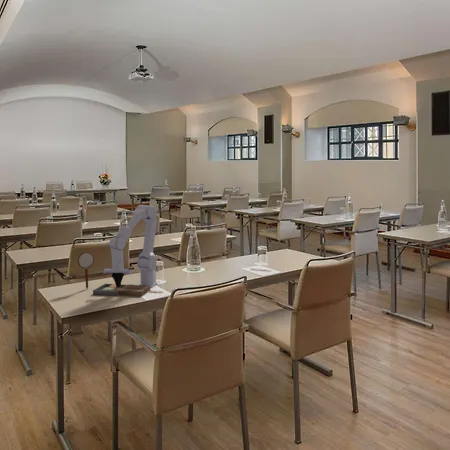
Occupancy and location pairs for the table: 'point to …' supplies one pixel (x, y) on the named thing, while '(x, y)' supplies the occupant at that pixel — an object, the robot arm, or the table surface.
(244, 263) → the table surface
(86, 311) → the table surface
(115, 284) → the terracotta tile
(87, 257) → the magnifying glass
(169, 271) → the table surface
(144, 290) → the brown tray
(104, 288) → the sage tile
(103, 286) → the box
